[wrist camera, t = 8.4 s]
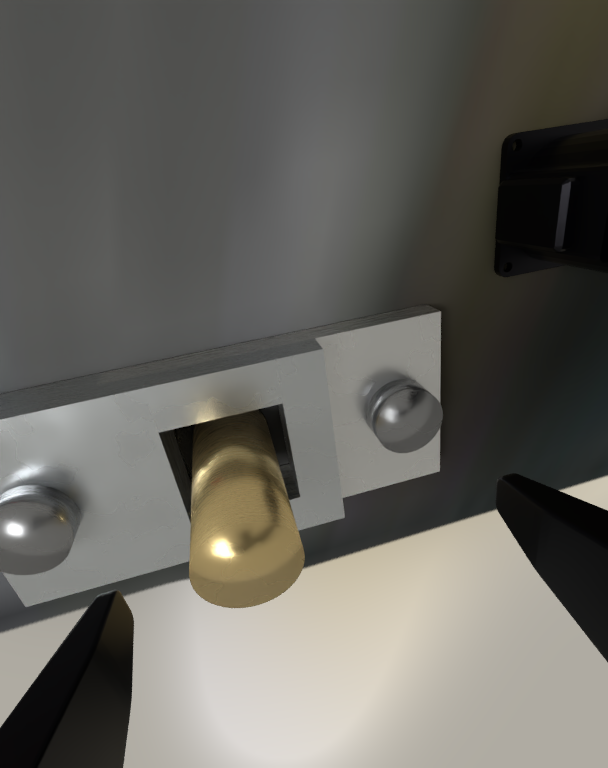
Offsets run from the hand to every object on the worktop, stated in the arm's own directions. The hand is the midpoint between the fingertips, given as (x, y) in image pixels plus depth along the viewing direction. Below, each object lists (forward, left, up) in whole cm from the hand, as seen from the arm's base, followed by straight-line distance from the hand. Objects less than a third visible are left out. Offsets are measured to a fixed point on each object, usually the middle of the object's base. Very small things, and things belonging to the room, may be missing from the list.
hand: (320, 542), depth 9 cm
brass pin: (+2, +4, -13) cm, 14 cm away
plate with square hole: (+2, +4, -13) cm, 14 cm away
